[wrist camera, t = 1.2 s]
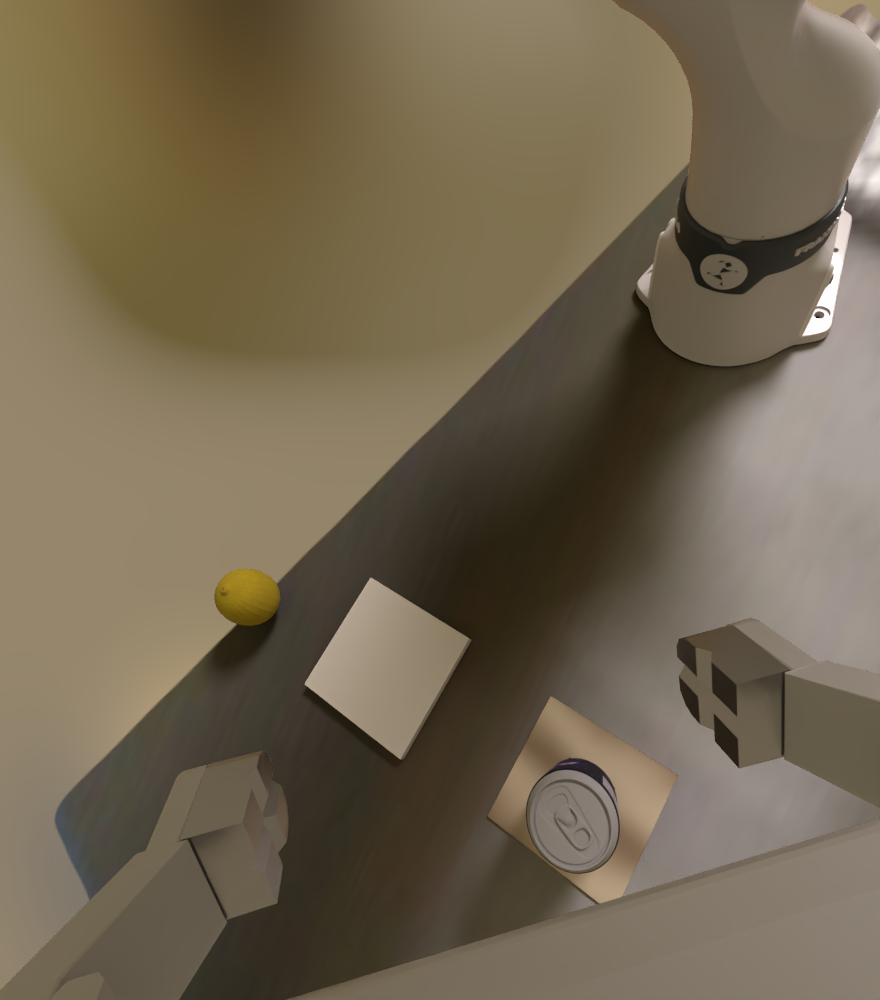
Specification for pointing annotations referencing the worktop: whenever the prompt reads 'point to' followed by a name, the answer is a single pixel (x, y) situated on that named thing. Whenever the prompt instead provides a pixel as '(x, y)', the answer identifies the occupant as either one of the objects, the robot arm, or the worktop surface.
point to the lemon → (247, 597)
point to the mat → (387, 666)
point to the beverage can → (574, 816)
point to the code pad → (627, 768)
